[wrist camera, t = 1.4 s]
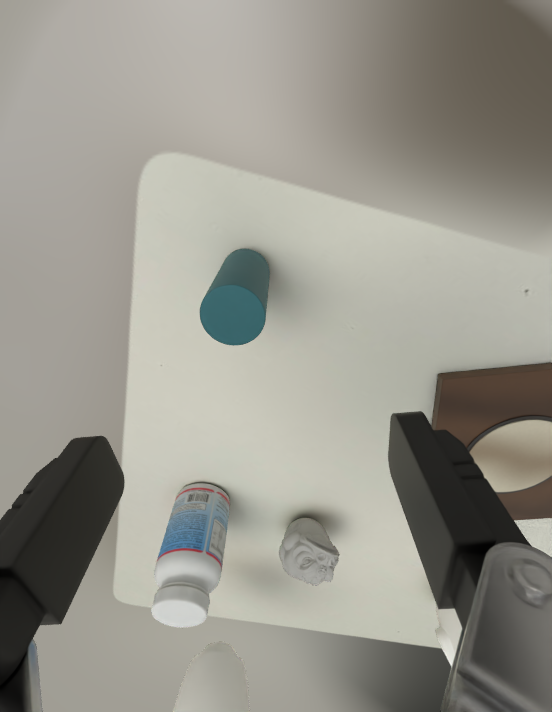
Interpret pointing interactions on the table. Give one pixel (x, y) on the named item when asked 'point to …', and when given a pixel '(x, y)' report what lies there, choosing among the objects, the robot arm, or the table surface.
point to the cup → (214, 682)
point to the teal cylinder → (237, 299)
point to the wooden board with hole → (504, 430)
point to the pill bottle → (191, 555)
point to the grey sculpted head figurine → (308, 552)
